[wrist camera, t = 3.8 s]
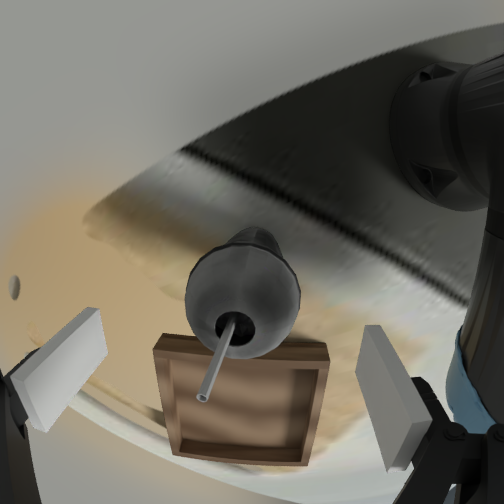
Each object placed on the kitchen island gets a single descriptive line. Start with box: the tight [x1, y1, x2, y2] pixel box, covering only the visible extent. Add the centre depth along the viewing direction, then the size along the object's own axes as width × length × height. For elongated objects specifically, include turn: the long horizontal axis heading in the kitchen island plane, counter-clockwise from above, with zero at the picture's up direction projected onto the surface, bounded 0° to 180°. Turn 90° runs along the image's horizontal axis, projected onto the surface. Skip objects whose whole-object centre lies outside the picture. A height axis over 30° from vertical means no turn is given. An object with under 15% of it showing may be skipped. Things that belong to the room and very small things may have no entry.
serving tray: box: [153, 333, 330, 466], centre depth 34 cm, size 18×18×4 cm
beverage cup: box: [185, 228, 301, 402], centre depth 21 cm, size 7×7×20 cm
